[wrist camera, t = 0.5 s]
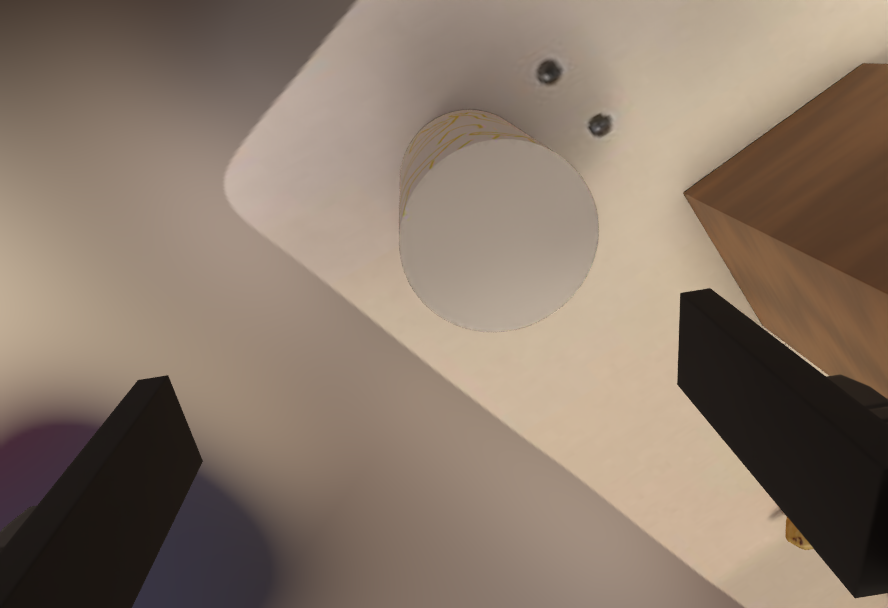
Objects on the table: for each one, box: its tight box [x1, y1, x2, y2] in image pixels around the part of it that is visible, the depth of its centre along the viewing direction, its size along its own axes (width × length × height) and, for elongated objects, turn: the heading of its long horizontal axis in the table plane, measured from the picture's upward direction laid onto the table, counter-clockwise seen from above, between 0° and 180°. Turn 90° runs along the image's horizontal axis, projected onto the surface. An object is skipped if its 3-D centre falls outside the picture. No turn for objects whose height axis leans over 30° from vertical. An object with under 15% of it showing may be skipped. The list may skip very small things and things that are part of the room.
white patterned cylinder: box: [399, 110, 599, 332], centre depth 28 cm, size 8×8×12 cm
